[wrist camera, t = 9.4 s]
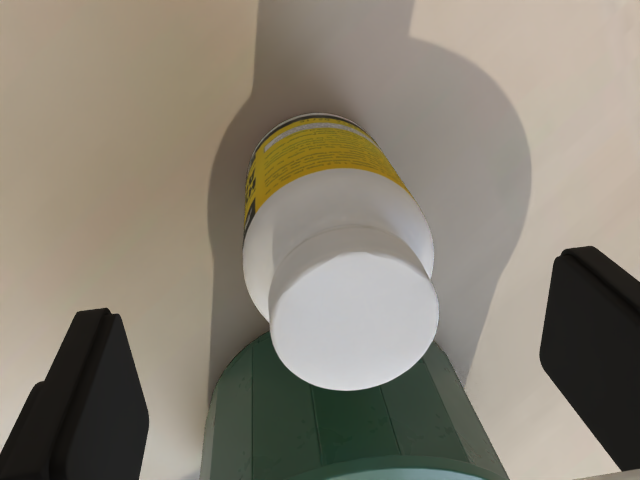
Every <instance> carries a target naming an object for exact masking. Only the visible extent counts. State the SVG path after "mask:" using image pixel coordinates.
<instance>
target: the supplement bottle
mask: <svg viewBox="0 0 640 480" xmlns="http://www.w3.org/2000/svg"><path fill="white" fill-rule="evenodd" d="M245 193H246V195H245V217H244V237H243V272H244V279H245V283H246V286H247V289H248V292H249V294H250V297H251V299H252V301H253V303H254V304H255V306H256V307H257V309H258V310H259V312H260V313H261V314H262V315H263V316H264V318H265V319H266V320H267V321H268V322H269V323H270V334H271V339H272V343H273V346H274V348H275V350H276V353H277V354H278V356H279V358H280V360H281V361H282V362H283V364H284V365H285V366H286V367H287V368H288V369H289V370H290V371H291V372H292V373H294V374H295V375H296V376H298V377H299V378H301V379H302V380H304V381H306V382H308V383H310V384H313V385H315V386H318V387H322V388H326V389H331V390H342V391H351V390H361V389H367V388H371V387H375V386H378V385H381V384H383V383H386V382H388V381H390V380H393V379H394V378H396V377H398V376H400V375H401V374H403V373H404V372H406V371H407V370H409V369H410V368H411V367H412V366H413V365H414V364H415V363H416V362H417V361H418V360H419V359H420V358H421V357H422V356H423V355H424V353H425V352H426V351H427V349H428V348H429V346H430V344H431V342H432V341H433V339H434V336H435V334H436V330H437V327H438V321H439V303H438V297H437V294H436V291H435V288H434V286H433V284H432V282H431V280H430V278H431V275H432V270H433V264H434V245H433V239H432V235H431V231H430V228H429V225H428V223H427V221H426V218H425V216H424V215H423V213H422V211H421V209H420V207H419V205H418V204H417V203H416V201H415V200H414V198H413V197H412V195H411V194H410V192H409V191H408V189H407V188H406V186H405V185H404V183H403V182H402V181H401V179H400V178H399V176H398V175H397V173H396V172H395V170H394V168H393V167H392V166H391V164H390V163H389V161H388V160H387V158H386V157H385V155H384V154H383V152H382V151H381V149H380V148H379V146H378V145H377V144H376V142H375V141H374V140H373V139H372V137H371V136H370V135H369V134H368V133H367V132H366V131H365V130H364V129H362V128H361V127H360V126H359V125H357V124H356V123H354V122H352V121H350V120H348V119H346V118H344V117H341V116H337V115H333V114H328V113H308V114H303V115H299V116H296V117H293V118H291V119H288V120H286V121H284V122H282V123H281V124H279V125H277V126H276V127H274V128H273V129H272V130H271V131H270V132H269V133H267V134H266V135H265V137H264V138H263V139H262V140H261V141H260V142H259V144H258V145H257V147H256V149H255V151H254V152H253V154H252V157H251V160H250V163H249V166H248V171H247V177H246V186H245Z"/></svg>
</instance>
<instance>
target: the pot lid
mask: <svg viewBox="0 0 640 480" xmlns="http://www.w3.org/2000/svg"><path fill="white" fill-rule="evenodd" d="M285 480H508V479H506V478H504V477H502V476H500V475H498V474H496V473H495V472H493V471H490V470H488V469H485V468H482V467H479V466H476V465H474V464H471V463H467V462H462V461H458V460H453V459H449V458H442V457H433V456H424V455H386V456H376V457H365V458H359V459H353V460H348V461H343V462H337V463H333V464H329V465H326V466H322V467H319V468H315V469H312V470H308V471H305V472H303V473H300V474H298V475H295V476H292V477H290V478H287V479H285Z"/></svg>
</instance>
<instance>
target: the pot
mask: <svg viewBox="0 0 640 480" xmlns="http://www.w3.org/2000/svg"><path fill="white" fill-rule="evenodd" d="M386 455H424V456H433V457H442V458H449V459H453V460H458V461H462V462H467V463H471V464H474V465H476V466H479V467H482V468H485V469H488V470H490V471H493V472H495V473H496V474H498V475H500V476H502V477H504V478H506V479H508V480H510V479H509V477H508V475H507V473H506V471H505V469H504V468H503V466H502V464H501V462H500V460H499V458H498V456H497V454H496V452H495V450H494V448H493V446H492V444H491V442H490V440H489V438H488V436H487V434H486V432H485V430H484V428H483V426H482V424H481V422H480V420H479V418H478V416H477V415H476V413H475V411H474V409H473V407H472V405H471V403H470V401H469V399H468V397H467V395H466V393H465V391H464V389H463V387H462V385H461V383H460V381H459V379H458V377H457V375H456V373H455V371H454V369H453V367H452V365H451V363H450V362H449V360H448V358H447V356H446V354H445V353H444V352H443V351H442V350H441V349H440V348H439V347H438V346H437V344H436V343H435V342H434V341H432V342H431V344H430V346H429V348H428V349H427V351H426V352H425V353H424V355H423V356H422V357H421V358H420V359H419V360H418V361H417V362H416V363H415V364H414V365H413V366H412V367H411V368H410V369H409V370H407V371H406V372H404V373H403V374H401V375H400V376H398V377H396V378H394V379H393V380H390V381H388V382H386V383H383V384H381V385H378V386H375V387H371V388H367V389H361V390H351V391H342V390H331V389H326V388H322V387H318V386H315V385H313V384H310V383H308V382H306V381H304V380H302V379H301V378H299V377H298V376H296V375H295V374H294V373H292V372H291V371H290V370H289V369H288V368H287V367H286V366H285V365H284V364H283V362H282V361H281V360H280V358H279V356H278V354H277V353H276V350H275V348H274V346H273V343H272V339H271V334H270V331H269V332H267V333H265V334H263V335H262V336H260V337H259V338H257V339H256V340H255V341H253V342H252V343H250V344H249V345H248V346H247V347H245V348H244V349H243V350H242V351H241V352H240V353H239V354H238V355H237V356H236V357H235V358H234V359H233V360H232V362H231V363H230V364H229V365H228V366H227V368H226V369H225V371H224V372H223V374H222V375H221V377H220V379H219V380H218V382H217V385H216V387H215V390H214V392H213V394H212V399H211V403H210V407H209V412H208V416H207V419H206V424H205V433H204V443H203V452H202V462H201V471H200V480H285V479H287V478H290V477H292V476H295V475H298V474H300V473H303V472H305V471H308V470H312V469H315V468H319V467H322V466H326V465H329V464H333V463H337V462H343V461H348V460H353V459H359V458H365V457H376V456H386Z"/></svg>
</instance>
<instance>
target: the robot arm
mask: <svg viewBox="0 0 640 480" xmlns="http://www.w3.org/2000/svg"><path fill="white" fill-rule="evenodd" d="M539 356H540V362H541V365H542V367H543V369H544V370H545V372H546V373H547V374H548V376H549V377H550V378H551V380H552V381H553V382H554V384H555V385H556V386H557V387H558V389H559V390H560V391H561V393H562V394H563V395H564V397H565V398H566V399H567V401H568V402H569V403H570V404H571V406H572V407H573V408H574V410H575V411H576V412H577V414H578V415H579V416H580V418H581V419H582V420H583V421H584V423H585V424H586V425H587V427H588V428H589V429H590V431H591V432H592V433H593V435H594V436H595V437H596V438H597V440H598V441H599V442H600V444H601V445H602V446H603V448H604V449H605V450H606V452H607V453H608V454H609V455H610V457H611V458H612V459H613V461H614V462H615V463H616V465H617V466H618V467H619V469H620V470H621V471H622V472H617V473H611V474H605V475H599V476H593V477H587V478H581V479H574V480H640V282H639V281H638V280H636V279H635V278H634V277H633V276H631V275H630V274H629V273H627V272H626V271H625V270H624V269H622V268H621V267H620V266H618V265H617V264H616V263H615V262H613V261H612V260H611V259H609V258H608V257H607V256H606V255H604V254H603V253H602V252H600V251H599V250H598V249H597V248H595V247H593V246H586V247H578V248H570V249H565V250H564V251H563V252H562V253H561V255H560V256H559V257H557V258H556V259H555V260H554V264H553V270H552V277H551V283H550V289H549V296H548V302H547V308H546V315H545V321H544V327H543V334H542V340H541V346H540V354H539ZM148 429H149V414H148V409H147V406H146V402H145V399H144V395H143V392H142V388H141V385H140V381H139V378H138V374H137V371H136V367H135V364H134V360H133V357H132V353H131V350H130V346H129V343H128V339H127V336H126V333H125V329H124V326H123V322H122V319H121V316H120V315H119V314H118V313H117V314H111V312H110V310H109V309H108V308H101V309H93V310H85V311H79V312H77V313H76V315H75V317H74V319H73V321H72V323H71V325H70V327H69V329H68V331H67V334H66V336H65V338H64V340H63V342H62V344H61V346H60V349H59V351H58V353H57V355H56V357H55V359H54V361H53V364H52V366H51V368H50V370H49V372H48V374H47V376H46V379H45V381H42V382H39V383H37V384H35V386H34V387H33V389H32V390H31V392H30V394H29V396H28V398H27V400H26V402H25V404H24V406H23V408H22V410H21V413H20V415H19V417H18V419H17V421H16V423H15V425H14V427H13V429H12V431H11V433H10V435H9V437H8V439H7V441H6V443H5V445H4V447H3V449H2V451H1V453H0V480H139V476H140V471H141V466H142V460H143V455H144V450H145V445H146V440H147V434H148Z"/></svg>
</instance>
